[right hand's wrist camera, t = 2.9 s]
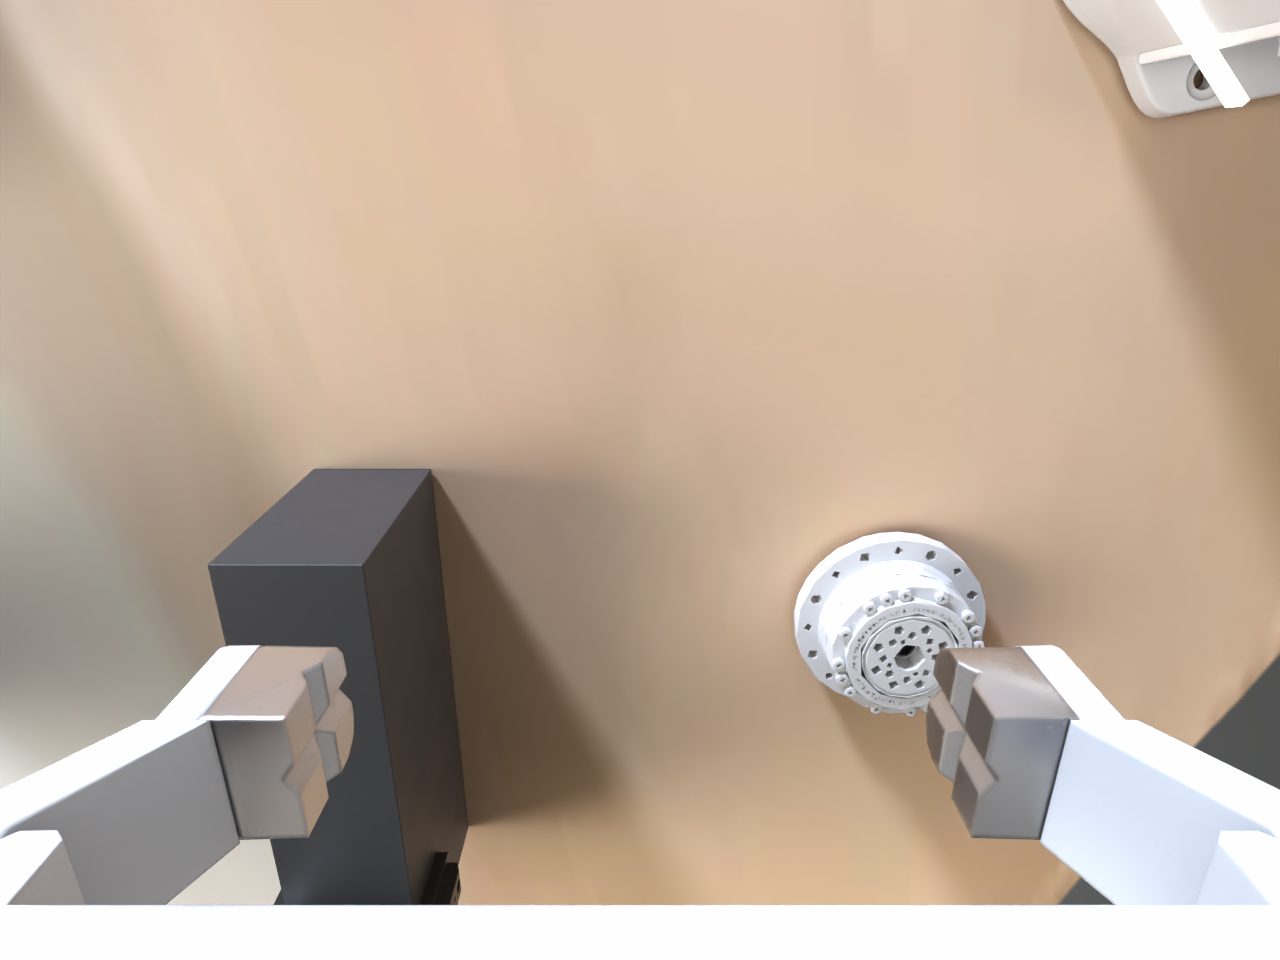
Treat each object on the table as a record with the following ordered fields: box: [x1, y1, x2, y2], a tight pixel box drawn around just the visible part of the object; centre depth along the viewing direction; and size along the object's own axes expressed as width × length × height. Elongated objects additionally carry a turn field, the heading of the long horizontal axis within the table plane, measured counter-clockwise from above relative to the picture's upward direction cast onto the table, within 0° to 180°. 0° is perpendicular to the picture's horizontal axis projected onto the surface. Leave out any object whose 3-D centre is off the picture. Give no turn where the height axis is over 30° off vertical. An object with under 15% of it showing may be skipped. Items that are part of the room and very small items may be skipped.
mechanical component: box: [794, 532, 986, 717], centre depth 40 cm, size 10×4×10 cm
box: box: [208, 469, 468, 905], centre depth 39 cm, size 24×6×10 cm, turn 0°
